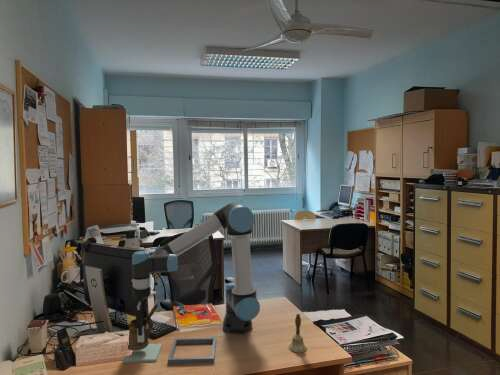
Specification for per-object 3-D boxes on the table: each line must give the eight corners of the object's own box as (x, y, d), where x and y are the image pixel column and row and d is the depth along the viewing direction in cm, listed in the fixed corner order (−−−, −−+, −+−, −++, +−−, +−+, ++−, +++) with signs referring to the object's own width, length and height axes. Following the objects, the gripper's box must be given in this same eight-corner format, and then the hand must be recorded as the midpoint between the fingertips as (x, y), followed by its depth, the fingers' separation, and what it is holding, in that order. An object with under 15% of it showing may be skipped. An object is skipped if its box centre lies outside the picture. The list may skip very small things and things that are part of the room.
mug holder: (216, 341, 184) (215, 337, 184) (214, 362, 165) (213, 358, 164) (174, 342, 183) (174, 338, 183) (167, 364, 164) (167, 359, 164)
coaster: (162, 345, 180) (162, 343, 180) (156, 361, 166) (156, 359, 166) (131, 346, 180) (131, 344, 179) (123, 362, 166) (122, 360, 166)
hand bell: (308, 345, 179) (308, 311, 178) (304, 354, 172) (304, 318, 170) (290, 343, 182) (290, 309, 181) (286, 351, 174) (286, 316, 173)
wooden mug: (158, 348, 170) (157, 308, 169) (126, 351, 167) (125, 310, 166) (158, 339, 178) (158, 300, 177) (128, 342, 176) (127, 303, 174)
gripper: (138, 280, 180) (139, 328, 182) (126, 294, 161) (128, 348, 162) (154, 279, 181) (155, 327, 182) (145, 294, 161) (146, 348, 163)
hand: (142, 337), depth 172 cm, fingers closed on wooden mug, 7 cm apart
